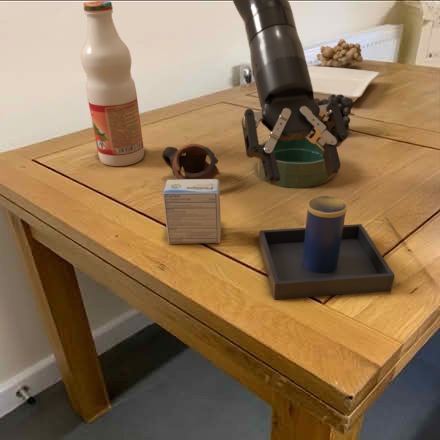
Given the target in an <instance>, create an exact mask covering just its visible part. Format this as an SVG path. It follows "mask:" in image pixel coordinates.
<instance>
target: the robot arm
mask: <svg viewBox="0 0 440 440" xmlns="http://www.w3.org/2000/svg"><path fill="white" fill-rule="evenodd" d="M231 1H232V2H233V6H234V7H235V9H236V11H237V13H238V15H239V16H240V18H241V20H242V22H243V25H244V30H245V34H246V35H245V36H246V39H247V44H248V48H249V53H250V54H249V55H250V64H251V72H252V73H251V74H252V77H253V78H254V79H253V80H254V83H255V88H256V92H257V97H258V100H259V105H260V107H261V111H255V112H254V110H253V109H252V108H247V109H246V110H245V111H244V113H243V116H242V119H241V128H242V133H243V141H244V146H245V153H246V156H247V158H248V159H249V158H250V159H252V158H256V159H258V158H260V159H261V161H262V164H263V168H264V173H265V177H266V179H267V181H270V182H271V183H270V185H271V186H276V185H275V184H277V183H278V182H279V181H280V174H279V170H278V166H277V161H276V157H275V153H274V154H272V151H273V149H274V147H275V145H276V143H277V141H278V139H280V140H283V142H287V141H290V140H292V139H295V140H303V139H304V138H305V137H306V138H307V139H308V140H309V141H310V142H311V143H313V144H316V145H317V146H318V147H320V148H321V149H322V150H323V151H324V152H323V154H322V155H323V159H324V163H325V167H326V171H327V175H328V177H332V178H333V177H335V176H336V175H337V174H338V173H339V170H340V169H341V161H340V156H339V152H338V148H339V147H341V145H342V144H343V143H344V142H345V141H346V140H347V139H348V136H349V135H348V131H346V128H345V124H344V121H343V118H342V115H341V111H340V108H339V105H338V102H337V101H336V100H331V102H330V103H329V104H325V105H320V106H318V104H317V103H316V102H315V100H314V96H313V88H312V84H311V79H310V75H309V71H308V67H307V66H308V62H307V59H306V54H305V51H304V47H303V44H302V41H301V39H300V36H299V33H298V30H297V26H296V21H295V17H294V13H293V9H292V6H291V3H290V1H289V0H231ZM318 115H320V116H322V118H323V121H326V122H327V126H328V129H329V132H328V131H327V128H326V126H325V125H324V124H323V123H322V122H321V121H320V120H319V119H318V118H317V117H318ZM260 123H261V124H262V125H263V126H264V127H265V128H266V129H267V130H268V131H270V133H269V136H268V138H267V141H266V140H265V141H266V143H265V146H263V145H260V142H259V137H258V127H259V125H260ZM313 128H314V129H315V132H313V131H312V129H313Z"/></svg>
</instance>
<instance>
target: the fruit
mask: <svg viewBox="0 0 440 440" xmlns="http://www.w3.org/2000/svg"><path fill="white" fill-rule="evenodd" d="M314 100H315V102H316V103H317V104H318V106H320V105H325V104H329V103H330V102H331V100H336V101H337V102H338V105H339V108H340V111H341V115H342V118H343V121H344V124H345V128H346V131H347V132H348V131H349V129H350V125H349V124H350V123H351V117H350V116H356V114H355V113H352V108H353V105H354V102H353V100H352V99H351V98H347V97H344V96H343V95H341V94H339V95H338V96H335V95H334V94H333V95H331V96H330V97H329V98H328V100H327V99H324V100H322V101H320V100H319V99H317V98H316V99H314ZM349 115H350V116H349ZM317 118H318V119H319V120H320V121H321V122H322V123H323V124H324V125H325V126H326V128H327V131H328V132H329V129H328V126H327V122H326V121H323V118H322V116H320V115H318V117H317ZM312 131H313V132H315V133H316V131H315V129H314V128H313V129H312Z"/></svg>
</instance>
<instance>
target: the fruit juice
mask: <svg viewBox="0 0 440 440" xmlns="http://www.w3.org/2000/svg"><path fill="white" fill-rule="evenodd" d="M113 8H114V7H113V4H112V2H111V0H93V1H86V2H83V11H84V14H85V16H86V18H87V32H86V38H85V39H86V40H85V42H84V44H83V46H82V49H81V52H80V61H81V66H82V68H83V71H84V72H85V74H86V84H85V90H86V97H87V98H86V99H87V103H88V108H89V113H90V116H91V118H90V119H91V123H92V128H93V129H92V130H93V133H94V139H95V145H96V149H97V155H98V158H99V160H100V162H101V163H102V164H103V165H106V166H111V167H126V166H130V165H134V164H137V163H139V162H140V161H142V160H143V159H144V155H145V148H144V141H143V140H144V139H143V133H142V132H143V131H142V126H141V117H140V109H139V102H138V93H137V87H136V83H135V80H134V79H133V76H132V74H131V73H132V71H131V70H132V54H131V51H130V49H129V47H128V45H127V44H126V43H125V42H124V40H122V38H121V37H120V35H119V32H118V31H117V28H116V26H115V23H114V19H113V13H114V12H113Z"/></svg>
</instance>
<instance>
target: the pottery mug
mask: <svg viewBox="0 0 440 440" xmlns="http://www.w3.org/2000/svg"><path fill="white" fill-rule="evenodd" d="M207 156H208V157H209V160H210V162H208V161H207ZM161 157H162V160H163V161H164V163H165V164H166V165H167V166H168V167H169V168H170V169H171V170H172V174H173V176H174V177H175V178H176V180H184V179H215V176H218V175H219V176H220V173H221V172H220V171H219V168H218V167H217V164H218V163H219V159H218V158H217V157H216V156H215V153H214V152H213V151H212V150H211V149H210V148H209V147H207V146H205V145H203V144H199V143H190V144H186V145H183V146H182V147H180V148H179V149H177V148H176V147H174V146H166V147H165V148H164V150H163V151H162V153H161ZM182 169H183V172H184V175H183V174H182ZM194 172H195V173H194Z"/></svg>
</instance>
